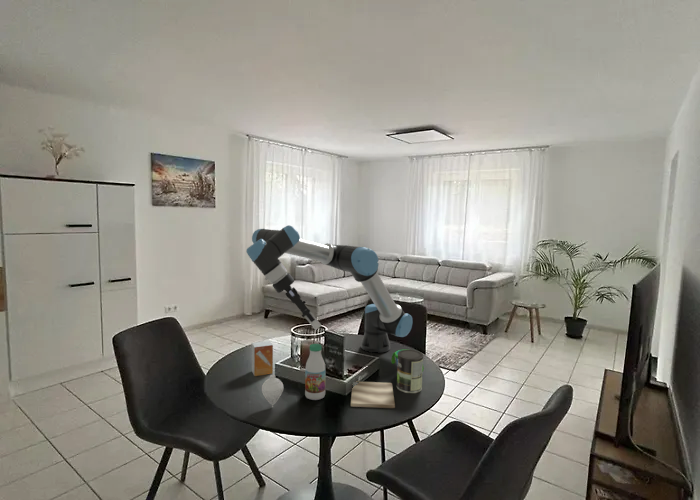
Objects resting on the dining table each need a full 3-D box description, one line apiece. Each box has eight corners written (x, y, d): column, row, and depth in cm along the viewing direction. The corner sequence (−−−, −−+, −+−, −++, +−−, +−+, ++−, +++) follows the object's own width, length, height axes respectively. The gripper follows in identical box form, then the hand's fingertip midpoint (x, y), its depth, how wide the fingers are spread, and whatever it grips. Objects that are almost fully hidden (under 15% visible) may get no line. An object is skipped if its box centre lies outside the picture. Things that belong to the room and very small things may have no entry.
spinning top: (278, 400, 143) (278, 369, 142) (286, 409, 137) (286, 377, 136) (258, 405, 139) (258, 373, 138) (266, 415, 133) (266, 381, 132)
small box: (254, 376, 163) (254, 347, 162) (251, 371, 169) (251, 342, 167) (273, 373, 166) (273, 344, 165) (269, 368, 172) (269, 340, 171)
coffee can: (397, 393, 151) (398, 358, 149) (395, 381, 161) (396, 348, 160) (423, 394, 150) (425, 359, 149) (420, 382, 160) (421, 349, 159)
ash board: (352, 384, 158) (352, 381, 158) (391, 385, 157) (391, 382, 157) (350, 406, 140) (350, 403, 140) (394, 408, 139) (394, 405, 139)
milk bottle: (304, 391, 150) (304, 342, 148) (323, 390, 152) (324, 341, 150) (306, 401, 143) (306, 349, 141) (326, 399, 144) (327, 348, 142)
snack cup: (385, 373, 169) (385, 350, 168) (401, 367, 176) (402, 345, 175) (412, 385, 157) (412, 361, 156) (428, 379, 164) (429, 356, 163)
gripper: (269, 280, 149) (302, 322, 152) (273, 289, 125) (312, 338, 128) (285, 269, 150) (317, 310, 154) (291, 275, 126) (329, 324, 130)
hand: (315, 323), depth 141 cm, fingers open, 13 cm apart
